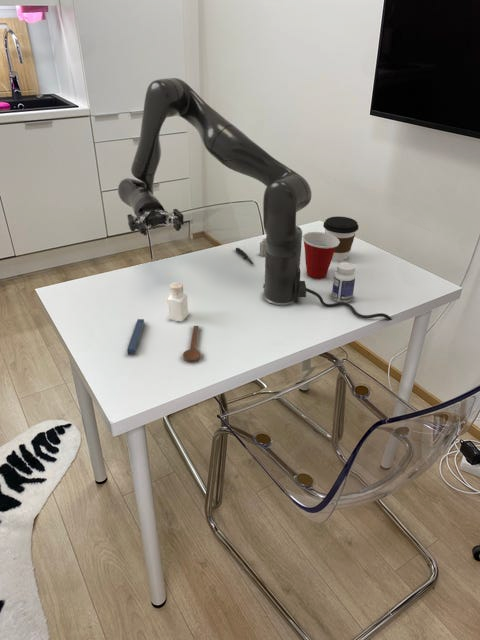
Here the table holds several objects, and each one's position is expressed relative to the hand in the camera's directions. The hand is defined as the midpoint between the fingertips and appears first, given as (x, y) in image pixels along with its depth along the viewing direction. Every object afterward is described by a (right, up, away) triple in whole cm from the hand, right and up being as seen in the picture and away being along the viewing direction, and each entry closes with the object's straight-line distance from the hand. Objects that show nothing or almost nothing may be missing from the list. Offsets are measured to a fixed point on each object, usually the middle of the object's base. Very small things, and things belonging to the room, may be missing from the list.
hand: (162, 229), depth 125 cm
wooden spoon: (+9, -29, -8) cm, 31 cm away
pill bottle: (+48, -17, +11) cm, 52 cm away
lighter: (+29, -1, +37) cm, 47 cm away
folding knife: (+21, -4, +32) cm, 39 cm away
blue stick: (-5, -28, -7) cm, 29 cm away
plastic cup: (+43, -10, +23) cm, 50 cm away
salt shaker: (+4, -23, +2) cm, 23 cm away
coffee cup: (+51, -3, +34) cm, 62 cm away
